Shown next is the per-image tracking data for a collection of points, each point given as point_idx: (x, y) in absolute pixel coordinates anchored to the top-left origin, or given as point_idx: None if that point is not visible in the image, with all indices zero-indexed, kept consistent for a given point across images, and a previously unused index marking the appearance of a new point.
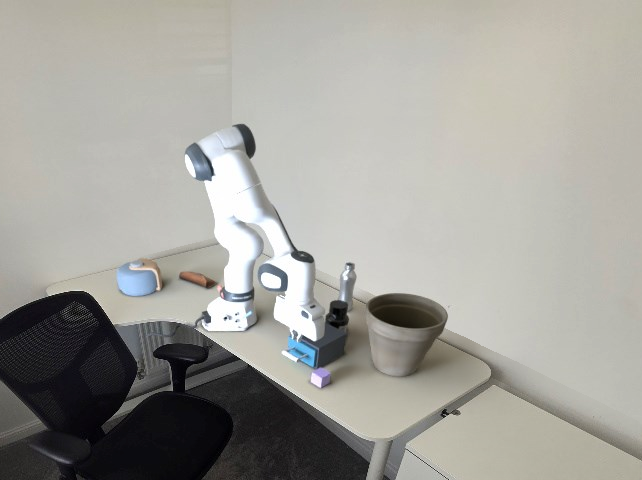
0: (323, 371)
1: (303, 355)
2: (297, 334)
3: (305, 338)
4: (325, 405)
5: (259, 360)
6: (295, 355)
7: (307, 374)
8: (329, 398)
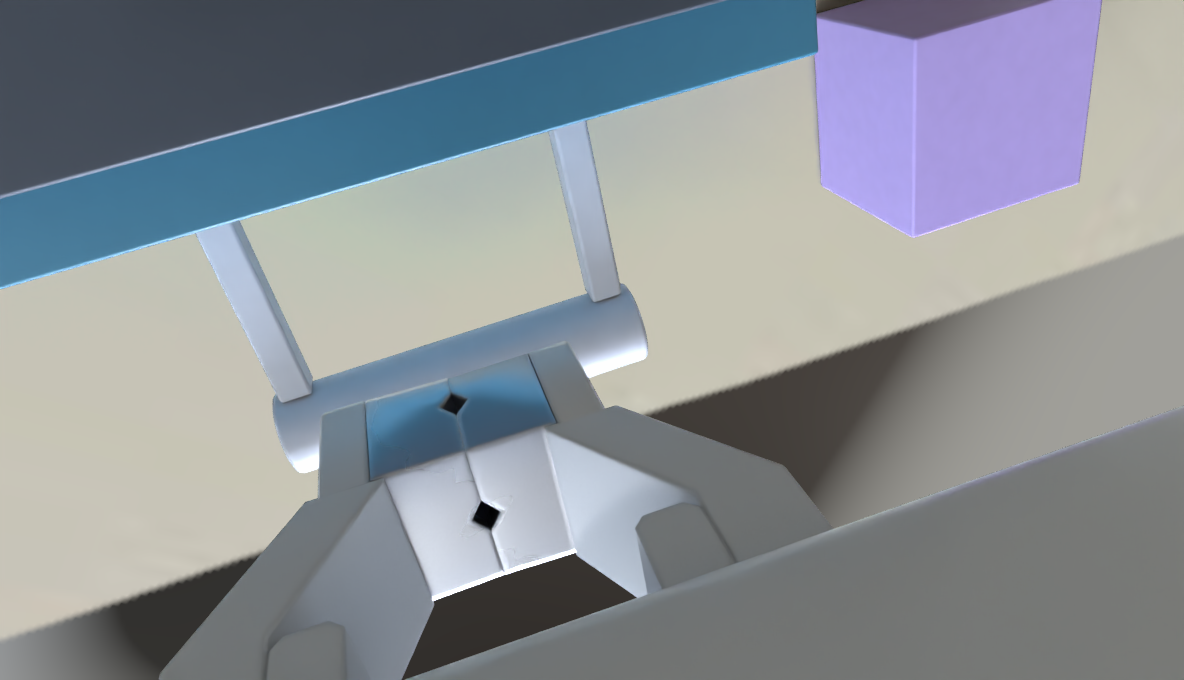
0: (1008, 67)
1: (573, 181)
2: (417, 481)
3: (283, 4)
4: (1139, 243)
5: (117, 564)
6: None
7: (683, 138)
8: (1117, 151)
